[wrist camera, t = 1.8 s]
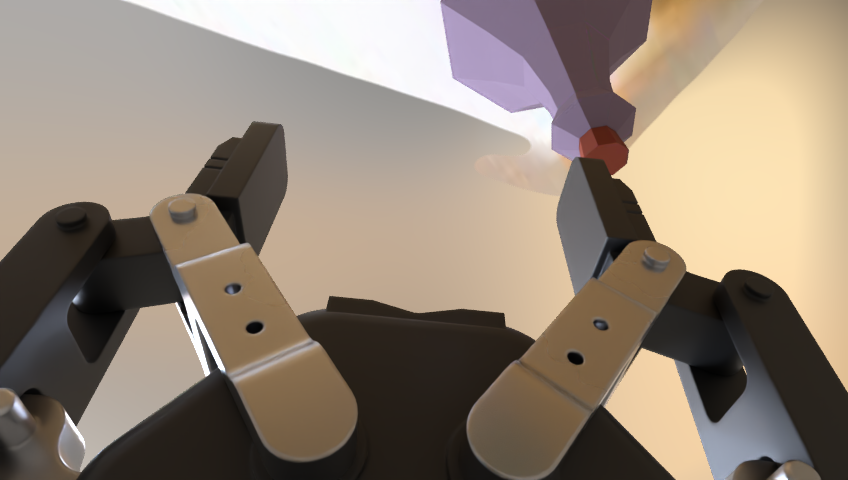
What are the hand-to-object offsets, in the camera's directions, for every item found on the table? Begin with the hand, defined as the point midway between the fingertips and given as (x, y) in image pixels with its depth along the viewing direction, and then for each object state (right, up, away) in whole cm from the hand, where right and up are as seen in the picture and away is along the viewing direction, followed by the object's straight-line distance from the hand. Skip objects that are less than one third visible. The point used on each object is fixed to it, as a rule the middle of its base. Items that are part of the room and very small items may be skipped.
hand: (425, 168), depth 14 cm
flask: (+9, +18, +27) cm, 33 cm away
